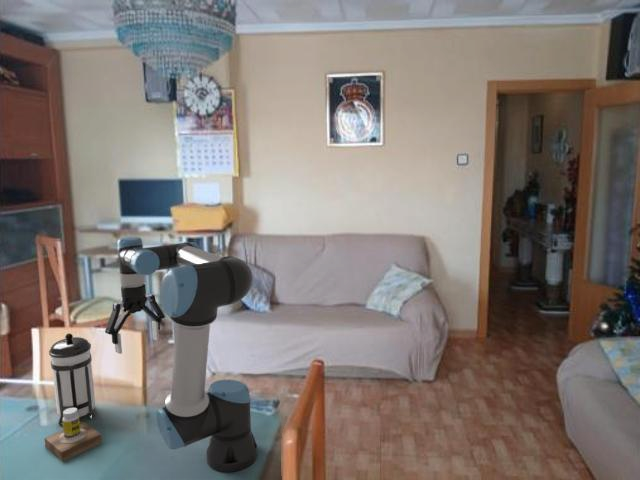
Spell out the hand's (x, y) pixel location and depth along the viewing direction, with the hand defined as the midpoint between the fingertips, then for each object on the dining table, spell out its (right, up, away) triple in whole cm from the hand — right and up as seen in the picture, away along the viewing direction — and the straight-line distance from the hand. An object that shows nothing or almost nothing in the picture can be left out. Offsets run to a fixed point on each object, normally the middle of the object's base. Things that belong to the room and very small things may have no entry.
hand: (138, 346), depth 164 cm
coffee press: (-23, -26, +7) cm, 36 cm away
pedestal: (-17, -29, -10) cm, 35 cm away
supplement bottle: (-17, -26, -10) cm, 33 cm away
